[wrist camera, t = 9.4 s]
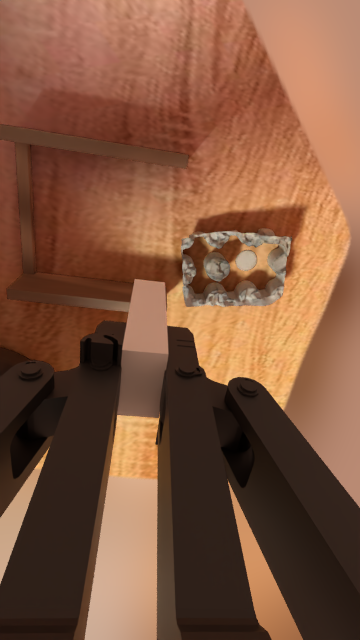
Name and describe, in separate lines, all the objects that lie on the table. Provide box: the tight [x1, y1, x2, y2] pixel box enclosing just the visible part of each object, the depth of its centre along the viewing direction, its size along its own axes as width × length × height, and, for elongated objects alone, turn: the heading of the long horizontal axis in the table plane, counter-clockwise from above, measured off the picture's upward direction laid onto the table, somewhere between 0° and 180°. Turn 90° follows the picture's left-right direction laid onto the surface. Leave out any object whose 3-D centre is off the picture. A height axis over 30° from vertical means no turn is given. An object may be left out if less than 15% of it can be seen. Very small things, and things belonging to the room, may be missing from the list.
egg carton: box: [181, 228, 292, 307], centre depth 34 cm, size 11×8×4 cm
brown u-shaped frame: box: [0, 124, 189, 312], centre depth 31 cm, size 14×14×5 cm
